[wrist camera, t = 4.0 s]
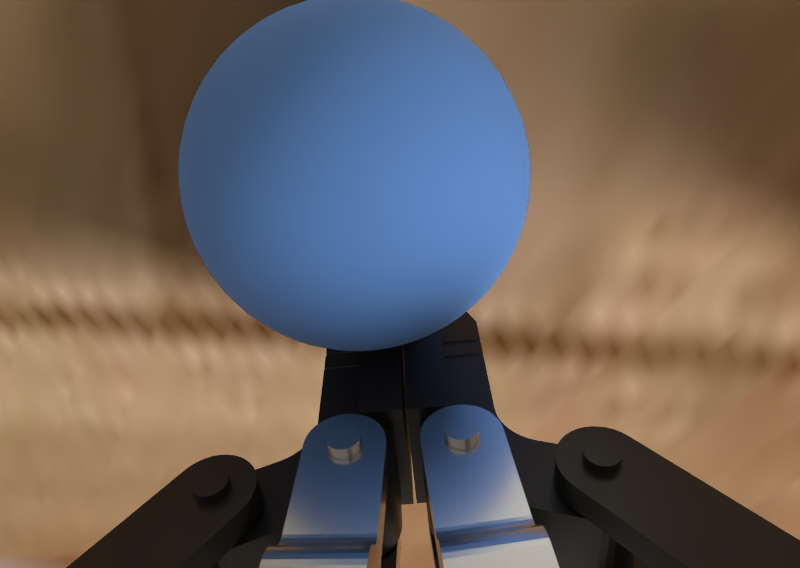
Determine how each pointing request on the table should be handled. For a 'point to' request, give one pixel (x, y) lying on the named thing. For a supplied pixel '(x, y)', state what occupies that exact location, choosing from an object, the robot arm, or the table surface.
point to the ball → (354, 173)
